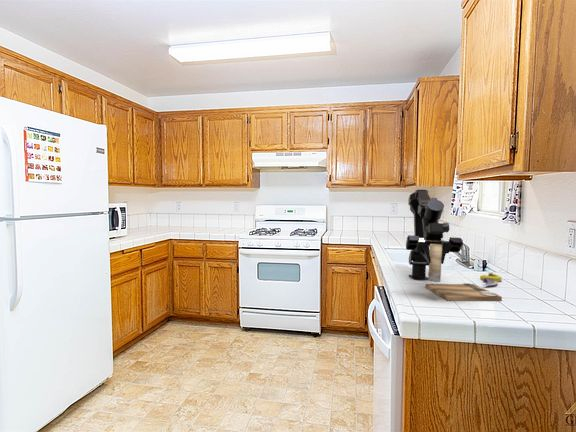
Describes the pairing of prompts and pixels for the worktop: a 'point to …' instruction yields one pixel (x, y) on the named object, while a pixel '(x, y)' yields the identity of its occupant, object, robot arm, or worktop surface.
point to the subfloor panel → (463, 292)
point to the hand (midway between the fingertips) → (436, 263)
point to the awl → (435, 262)
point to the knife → (490, 279)
